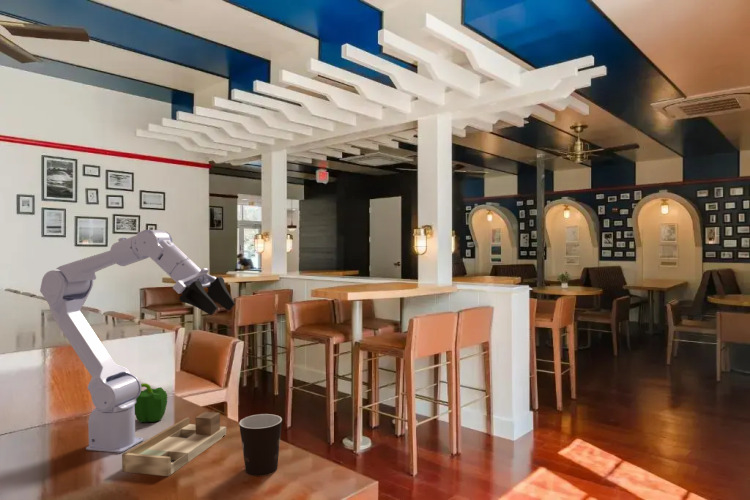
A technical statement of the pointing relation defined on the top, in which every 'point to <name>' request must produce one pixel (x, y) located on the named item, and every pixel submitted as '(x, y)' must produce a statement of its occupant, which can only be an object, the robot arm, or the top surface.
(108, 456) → the top surface
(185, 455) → the birch tray
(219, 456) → the top surface
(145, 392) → the bell pepper
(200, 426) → the walnut block
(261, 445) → the black cup
